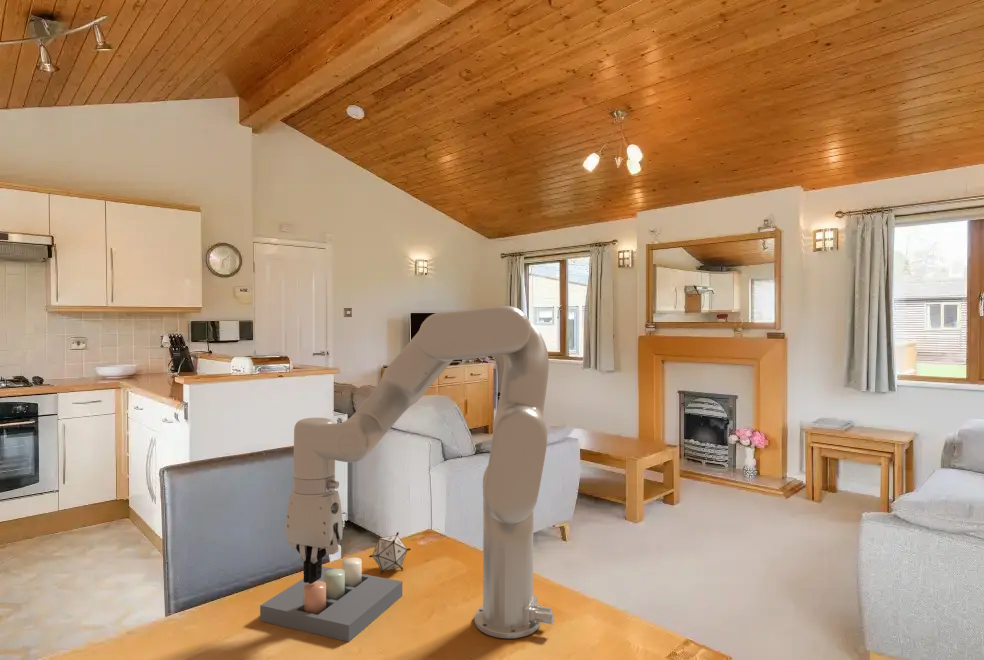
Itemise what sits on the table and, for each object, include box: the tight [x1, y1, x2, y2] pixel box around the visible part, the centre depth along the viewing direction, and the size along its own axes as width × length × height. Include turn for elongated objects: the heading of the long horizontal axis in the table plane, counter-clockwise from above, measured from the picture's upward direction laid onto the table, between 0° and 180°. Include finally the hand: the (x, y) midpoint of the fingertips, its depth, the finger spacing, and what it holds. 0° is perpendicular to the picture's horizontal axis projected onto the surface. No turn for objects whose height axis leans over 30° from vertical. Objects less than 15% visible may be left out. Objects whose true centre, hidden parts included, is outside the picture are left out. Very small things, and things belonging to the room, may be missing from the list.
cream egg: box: [341, 557, 363, 587], centre depth 125 cm, size 4×4×5 cm
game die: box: [368, 531, 412, 575], centre depth 137 cm, size 9×8×10 cm
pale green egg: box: [324, 568, 345, 601], centre depth 119 cm, size 4×4×5 cm
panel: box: [259, 566, 403, 643], centre depth 119 cm, size 20×19×3 cm
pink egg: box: [304, 581, 326, 615], centre depth 113 cm, size 4×4×5 cm
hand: (312, 580), depth 113 cm, fingers closed
